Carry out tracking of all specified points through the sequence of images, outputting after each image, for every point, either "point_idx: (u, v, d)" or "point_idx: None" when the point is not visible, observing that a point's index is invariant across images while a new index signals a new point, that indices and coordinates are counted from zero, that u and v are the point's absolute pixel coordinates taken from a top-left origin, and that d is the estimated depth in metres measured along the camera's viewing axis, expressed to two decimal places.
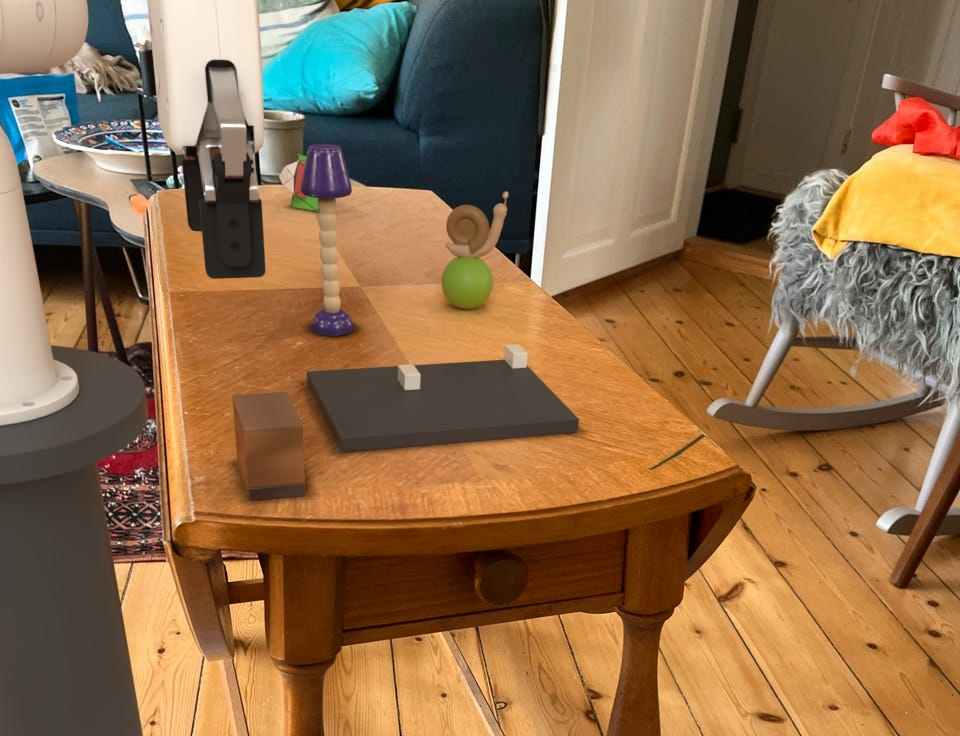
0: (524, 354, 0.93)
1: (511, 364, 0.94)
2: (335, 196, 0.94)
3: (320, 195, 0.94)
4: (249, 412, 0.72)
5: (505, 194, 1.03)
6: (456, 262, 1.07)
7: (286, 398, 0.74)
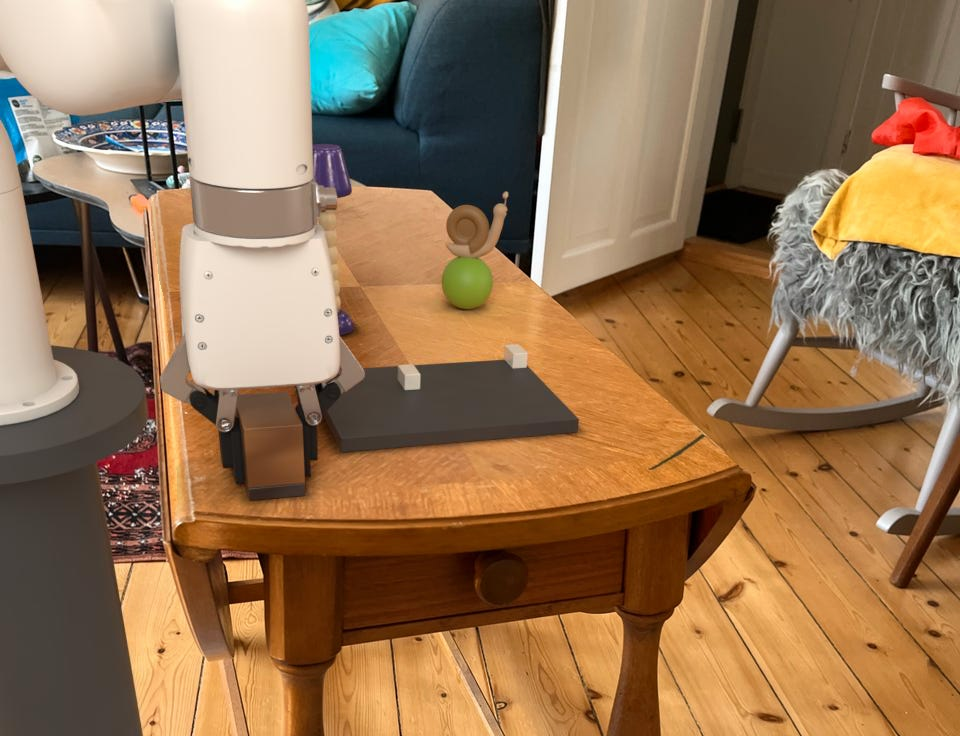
0: (524, 354, 0.93)
1: (511, 364, 0.94)
2: None
3: None
4: (249, 412, 0.72)
5: (505, 194, 1.03)
6: (456, 262, 1.07)
7: (286, 398, 0.74)
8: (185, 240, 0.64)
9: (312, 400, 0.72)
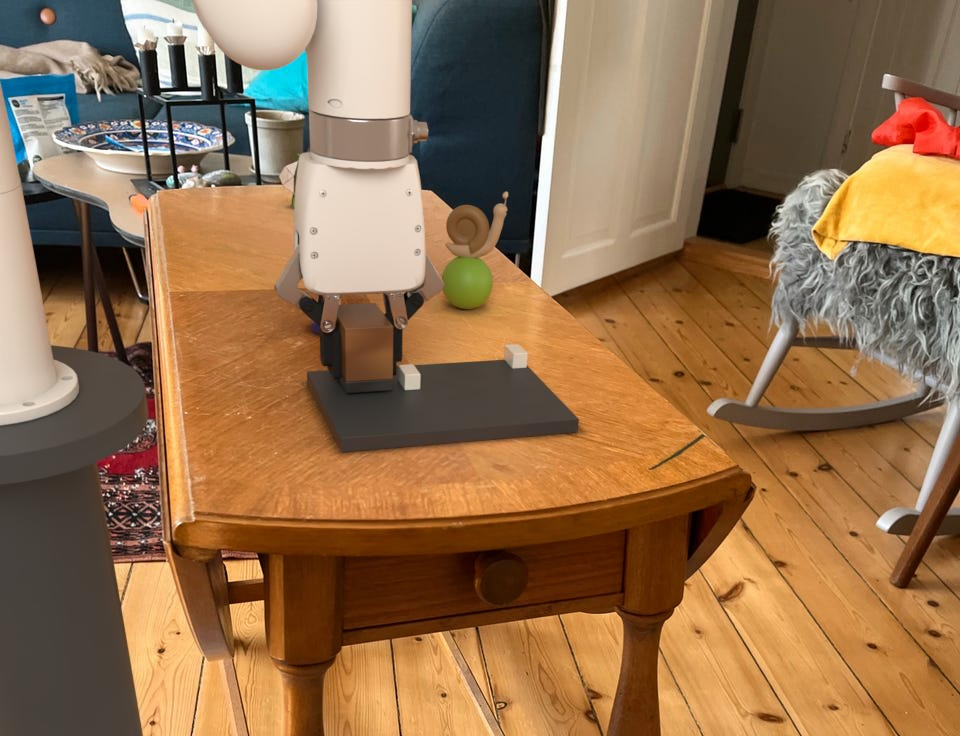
0: (524, 354, 0.93)
1: (511, 364, 0.94)
2: None
3: None
4: (347, 317, 0.85)
5: (505, 194, 1.03)
6: (456, 262, 1.07)
7: (375, 307, 0.87)
8: (303, 164, 0.77)
9: (400, 306, 0.85)
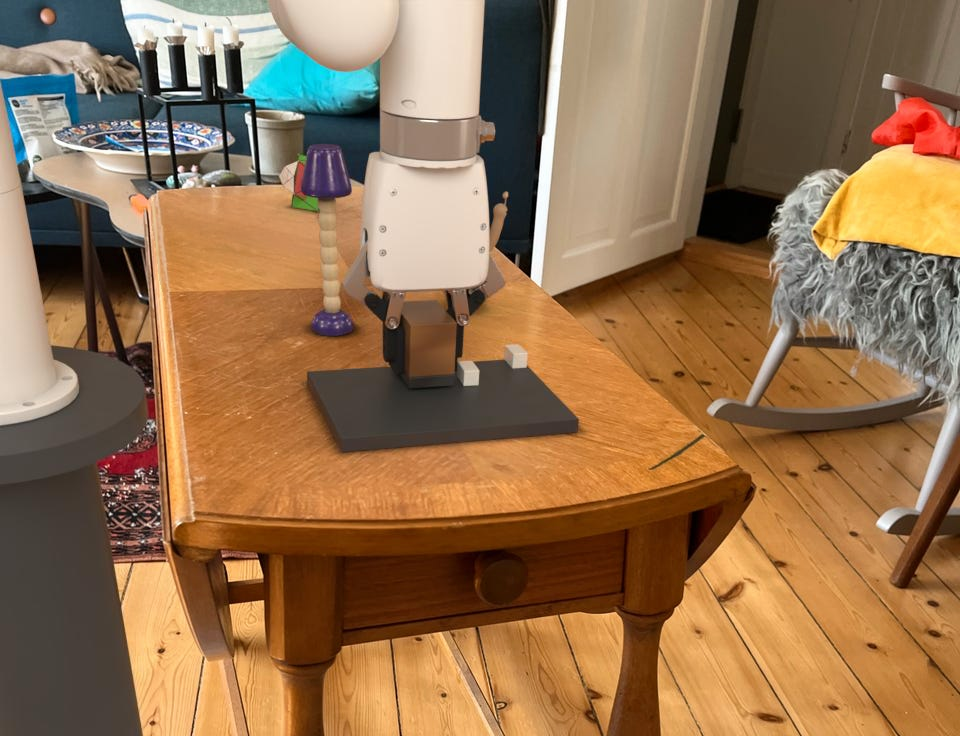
0: (524, 354, 0.93)
1: (511, 364, 0.94)
2: (335, 196, 0.94)
3: (320, 195, 0.94)
4: (410, 313, 0.87)
5: (505, 194, 1.03)
6: None
7: (437, 304, 0.89)
8: (374, 164, 0.79)
9: (463, 303, 0.87)
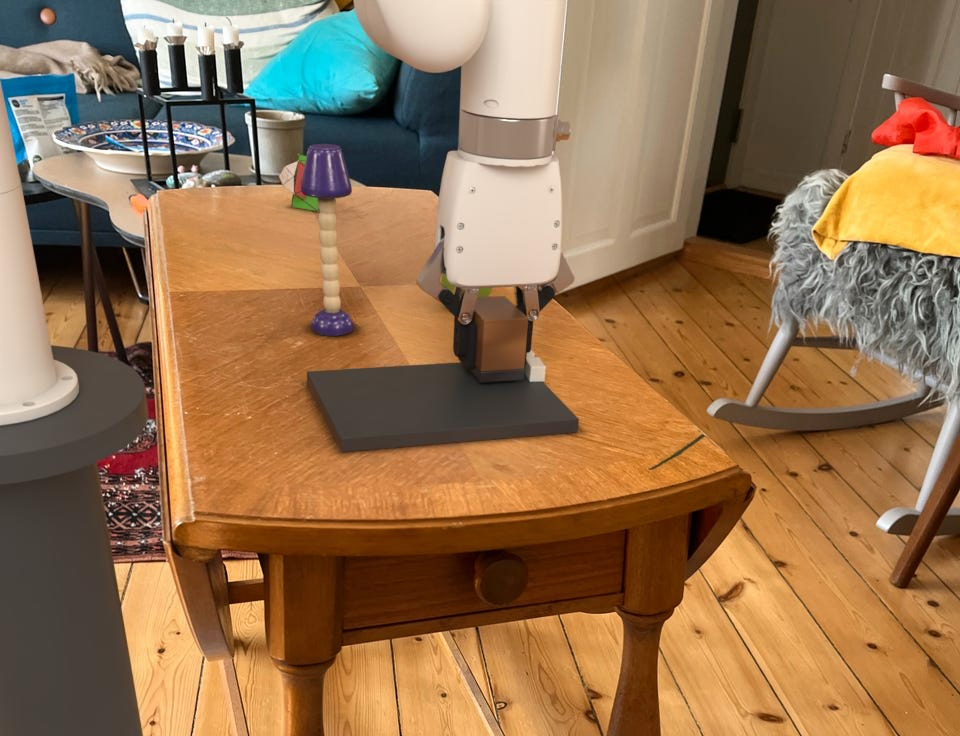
0: (531, 354, 0.93)
1: None
2: (335, 196, 0.94)
3: (320, 195, 0.94)
4: (482, 309, 0.88)
5: None
6: None
7: (506, 300, 0.91)
8: (453, 162, 0.81)
9: (534, 299, 0.88)
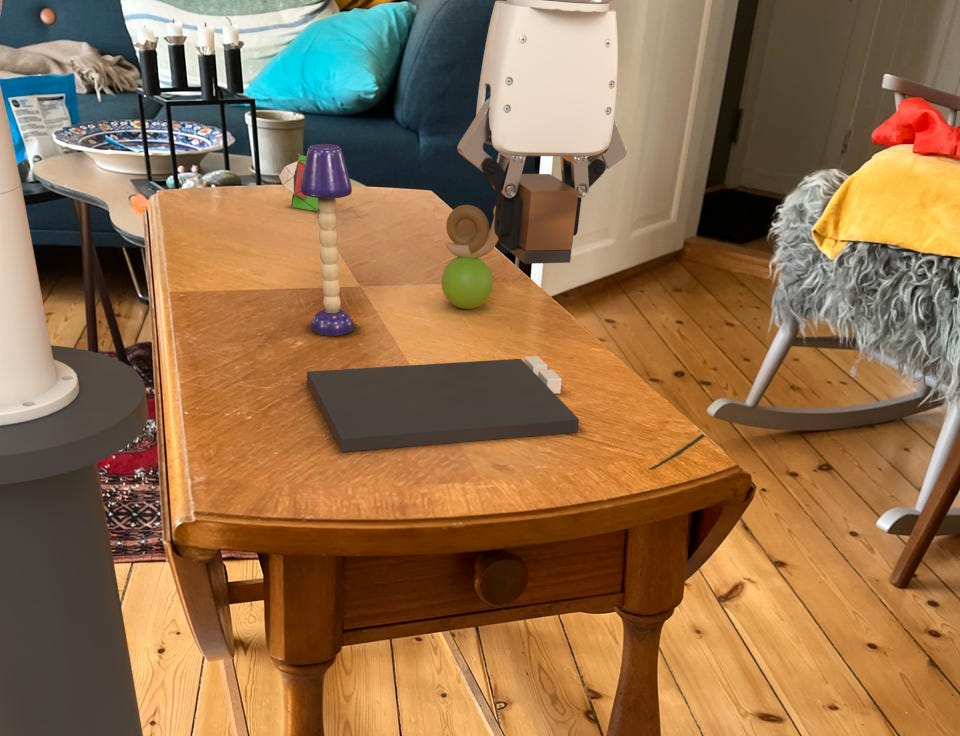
0: None
1: (535, 364, 0.94)
2: (335, 196, 0.94)
3: (320, 195, 0.94)
4: (528, 183, 0.82)
5: None
6: (456, 262, 1.07)
7: (552, 177, 0.84)
8: (502, 9, 0.74)
9: (583, 172, 0.82)
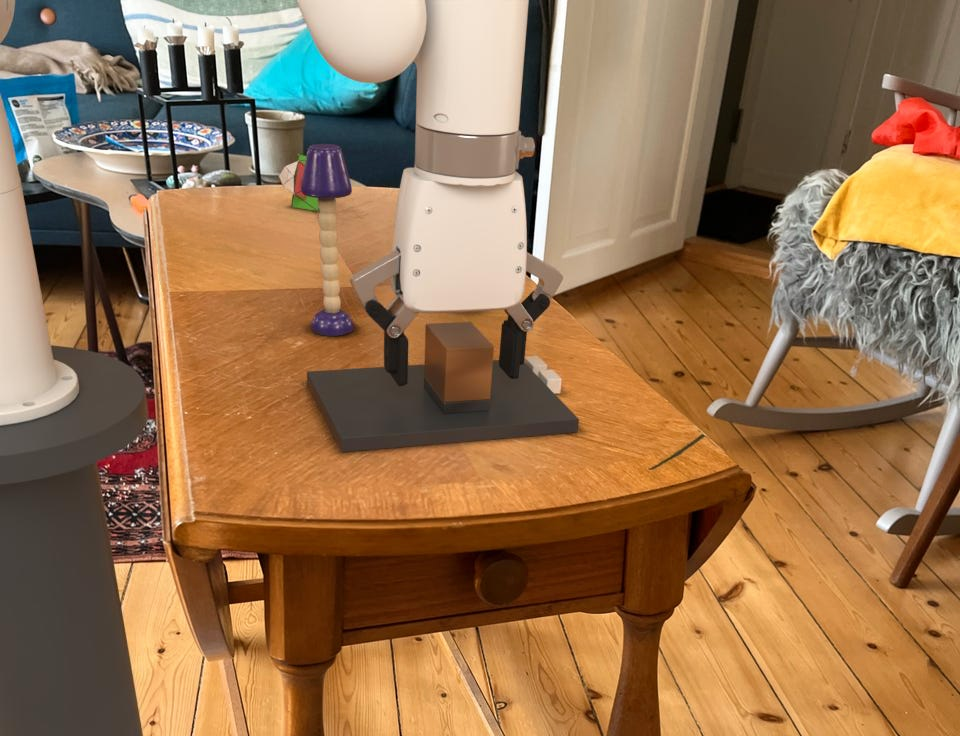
0: None
1: (535, 364, 0.94)
2: (335, 196, 0.94)
3: (320, 195, 0.94)
4: (445, 336, 0.83)
5: None
6: None
7: (472, 326, 0.86)
8: (409, 180, 0.76)
9: (520, 311, 0.83)
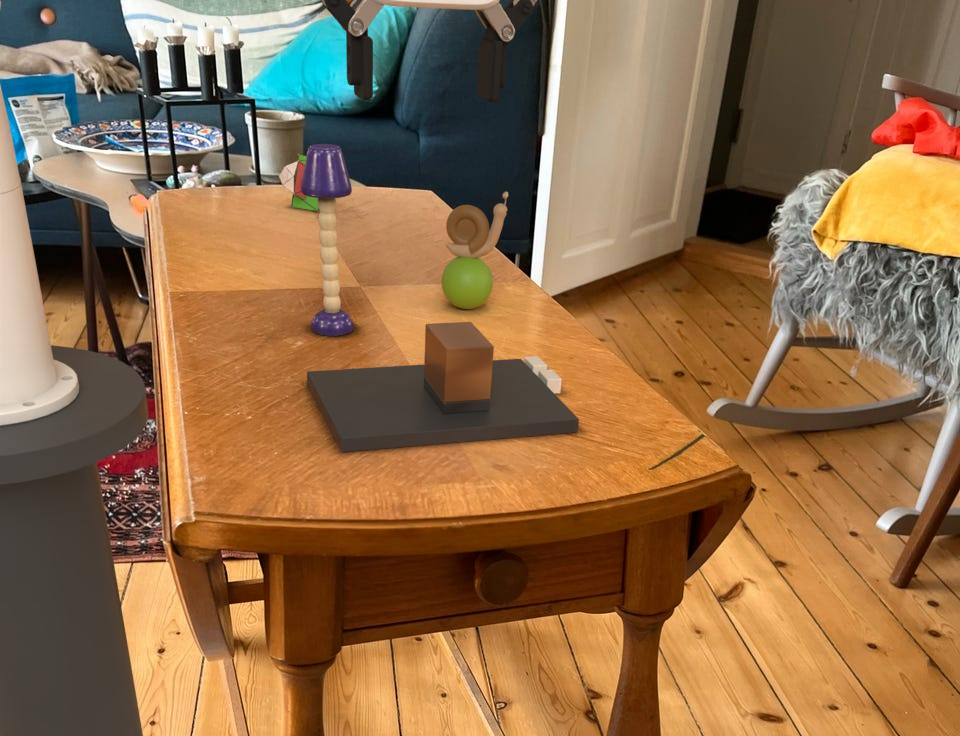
0: None
1: (535, 364, 0.94)
2: (335, 196, 0.94)
3: (320, 195, 0.94)
4: (445, 336, 0.83)
5: (505, 194, 1.03)
6: (456, 262, 1.07)
7: (472, 326, 0.86)
8: None
9: (499, 14, 0.74)
